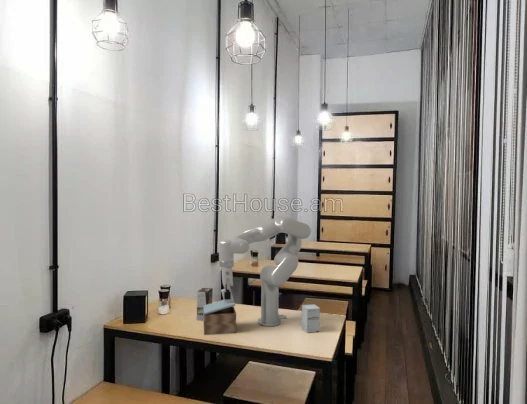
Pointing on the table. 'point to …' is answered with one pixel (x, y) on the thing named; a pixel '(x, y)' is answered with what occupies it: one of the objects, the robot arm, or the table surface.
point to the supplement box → (310, 318)
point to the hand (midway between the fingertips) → (227, 298)
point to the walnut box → (220, 321)
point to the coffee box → (203, 301)
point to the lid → (219, 304)
